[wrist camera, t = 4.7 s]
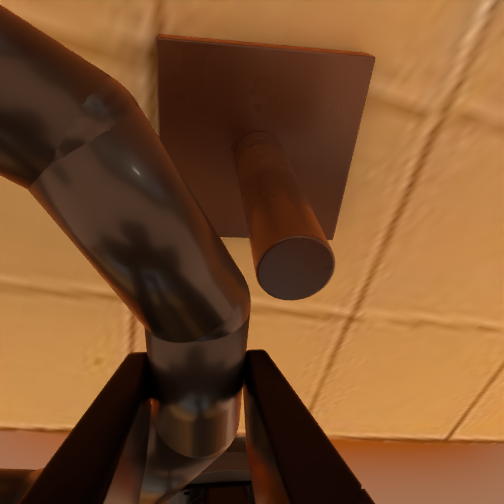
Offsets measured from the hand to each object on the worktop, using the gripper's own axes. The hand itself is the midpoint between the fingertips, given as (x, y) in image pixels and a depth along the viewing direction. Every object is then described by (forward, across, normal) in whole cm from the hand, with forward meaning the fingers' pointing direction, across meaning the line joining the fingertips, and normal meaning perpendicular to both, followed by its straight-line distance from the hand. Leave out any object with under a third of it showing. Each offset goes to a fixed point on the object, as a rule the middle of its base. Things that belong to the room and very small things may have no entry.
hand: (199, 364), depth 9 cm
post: (+11, -2, -1) cm, 11 cm away
